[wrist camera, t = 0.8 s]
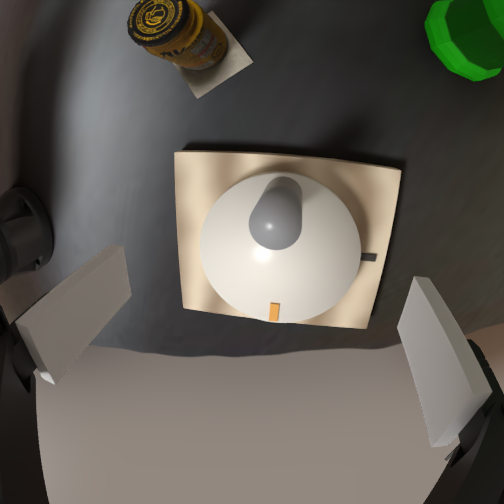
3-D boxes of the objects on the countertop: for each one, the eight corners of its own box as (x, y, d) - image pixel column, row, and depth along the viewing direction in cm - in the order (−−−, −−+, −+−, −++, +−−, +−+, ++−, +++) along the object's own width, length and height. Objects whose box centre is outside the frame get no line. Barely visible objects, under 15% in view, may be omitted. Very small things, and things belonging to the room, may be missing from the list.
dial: (207, 303, 37) (177, 363, 27) (204, 166, 30) (157, 189, 20) (342, 319, 35) (351, 386, 25) (368, 180, 28) (401, 211, 18)
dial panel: (188, 299, 41) (182, 309, 38) (181, 150, 32) (173, 152, 30) (363, 319, 37) (366, 330, 35) (395, 167, 29) (402, 171, 27)
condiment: (212, 11, 25) (170, -32, 14) (253, 62, 27) (226, 30, 16) (161, 47, 27) (101, 24, 16) (198, 99, 30) (146, 90, 19)
